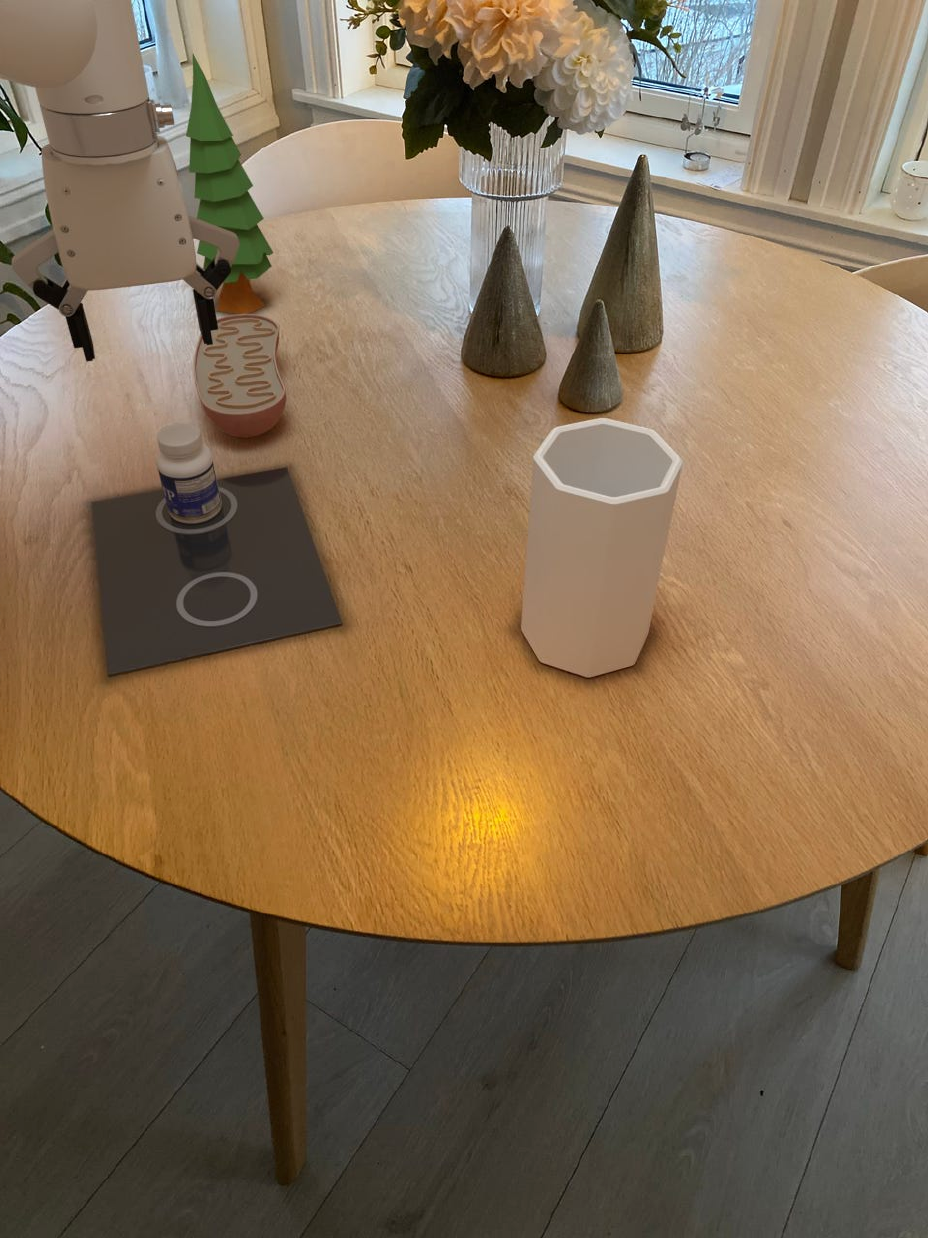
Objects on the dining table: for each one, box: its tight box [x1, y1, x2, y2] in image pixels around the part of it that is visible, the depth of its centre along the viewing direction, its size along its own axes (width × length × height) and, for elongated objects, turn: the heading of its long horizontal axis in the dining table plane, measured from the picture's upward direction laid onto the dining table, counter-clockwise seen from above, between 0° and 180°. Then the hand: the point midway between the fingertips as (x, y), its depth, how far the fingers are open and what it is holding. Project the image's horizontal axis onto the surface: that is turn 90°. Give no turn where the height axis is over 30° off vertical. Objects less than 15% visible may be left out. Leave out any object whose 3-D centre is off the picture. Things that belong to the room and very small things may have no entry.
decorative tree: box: [185, 52, 274, 315], centre depth 119 cm, size 10×9×30 cm
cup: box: [520, 417, 684, 678], centre depth 78 cm, size 11×11×18 cm
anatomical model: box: [193, 313, 287, 438], centre depth 110 cm, size 23×10×5 cm, turn 11°
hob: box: [90, 466, 343, 677], centre depth 91 cm, size 20×25×1 cm
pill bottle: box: [155, 422, 222, 524], centre depth 93 cm, size 5×5×9 cm
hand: (149, 345), depth 81 cm, fingers open, 9 cm apart
